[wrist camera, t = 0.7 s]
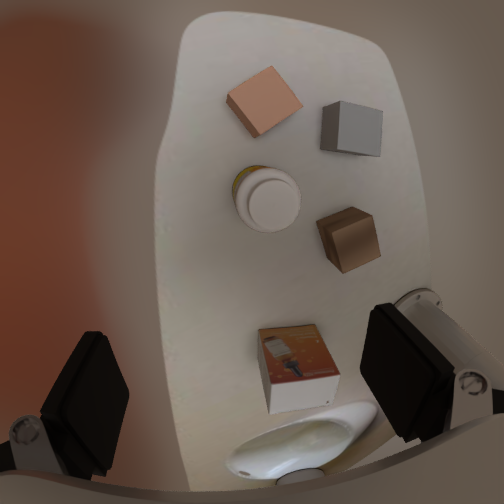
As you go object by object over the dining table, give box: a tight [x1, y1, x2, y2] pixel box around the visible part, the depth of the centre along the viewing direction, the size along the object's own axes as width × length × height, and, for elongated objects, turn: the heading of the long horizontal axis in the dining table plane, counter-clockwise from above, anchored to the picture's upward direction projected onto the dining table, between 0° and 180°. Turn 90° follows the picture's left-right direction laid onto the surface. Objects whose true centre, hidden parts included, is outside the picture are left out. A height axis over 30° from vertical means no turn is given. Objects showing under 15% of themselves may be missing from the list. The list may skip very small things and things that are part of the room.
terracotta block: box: [226, 66, 303, 138], centre depth 26 cm, size 5×5×5 cm
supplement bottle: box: [232, 166, 301, 233], centre depth 26 cm, size 6×6×10 cm
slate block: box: [320, 101, 383, 157], centre depth 27 cm, size 5×5×5 cm
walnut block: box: [316, 207, 381, 274], centre depth 31 cm, size 5×5×5 cm
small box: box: [258, 325, 340, 415], centre depth 33 cm, size 8×6×10 cm
